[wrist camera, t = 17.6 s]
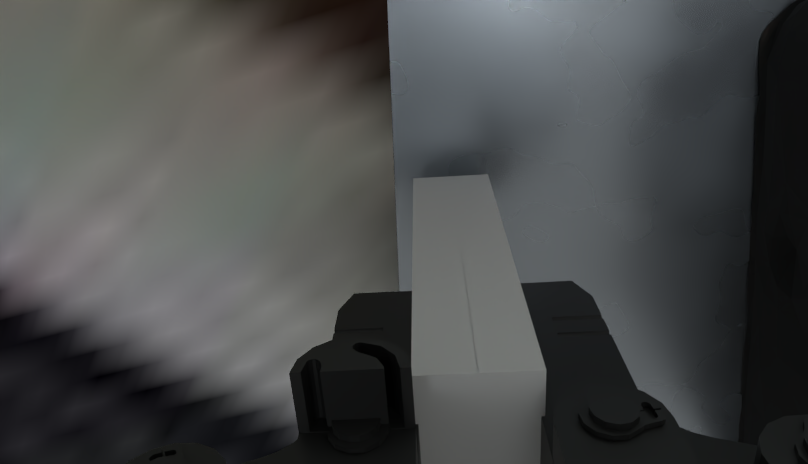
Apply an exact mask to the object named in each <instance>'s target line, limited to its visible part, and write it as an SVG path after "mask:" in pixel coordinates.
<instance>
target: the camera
mask: <svg viewBox="0 0 808 464" xmlns="http://www.w3.org/2000/svg"><path fill="white" fill-rule="evenodd" d="M759 82H760V97H759V101H758V105H757V112H756V124H755V154H754V189H753V200H752V221H751V232H750V254H749V271H748V286H747V309H748V325H747V331H746V338H745V345H744V352H743V365H742V409H741V415H740V422H739V439H738V442H741V443H747V444H753V445H758V440H759V436H760V434H761V433H762V431H763V430H764V428H765V427H766V425H767V424H768V423H770V422H772V421H774V420H777V419H779V418H781V417H784V416H792V415H806V414H808V0H796V1H795V2H793V3H792V4H790V5H789V6H788V7H787V8H786V9H785V10H784V11H783V12H782V13H781V14H780V15H779V16H777V17H776V18H775V19H774V20H773V21H772V22H771V23H770V24H769V25H768V27H767V28H766V29H765V30H764V31H763V34H762V37H761V39H760V51H759Z"/></svg>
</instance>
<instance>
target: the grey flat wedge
mask: <svg viewBox="0 0 808 464" xmlns="http://www.w3.org/2000/svg"><path fill="white" fill-rule="evenodd" d="M795 1H796V0H387V4H388V29H389V53H390V77H391V101H392V125H393V150H394V174H395V198H396V222H397V247H398V271H399V291H412V244H413V178H428V177H446V176H464V175H482V174H488V176H489V180H490V183H491V186H492V190H493V193H494V196H495V200H496V203H497V206H498V210H499V213H500V216H501V220H502V223H503V226H504V230H505V233H506V236H507V240H508V243H509V246H510V250H511V253H512V257H513V260H514V263H515V267H516V270H517V273H518V277H519V280H520V283H535V282H555V281H573V282H574V283H575V284H577V285H578V286H580V287H581V288H582V289H584V290H585V291H586V292H588V293H589V294H590V295H592V296H593V298H594V300H595V302H596V304H597V306H598V308H599V311H600V313H601V315H602V319H604V321H605V323H606V325H607V327H608V329H609V334H611V335H612V337H613V339H614V341H615V343H616V345H617V348H618V350H619V352H620V354H621V356H622V358H623V360H624V362H625V364H626V366H627V368H628V370H629V372H630V374H631V376H632V378H633V380H634V383H635V385H636V387H637V389H638V390H641V391H644V392H645V393H647V394H649V395H650V396H652V397H654V398H655V399H657V400H658V401H660V402H662V403H663V404H664V406H665V407H666V408H667V409H668V410H669V412H670V413H671V414H672V415H673V416H674V418H675V420H676V421H677V423H678V425H679V427H681V428H684V429H686V430H688V431H691V432H694V433H698V434H702V435H706V436H709V437H714V438H719V439H725V440H730V441H736V442H738V439H739V422H740V415H741V409H742V365H743V352H744V345H745V338H746V331H747V325H748V309H747V286H748V271H749V254H750V232H751V221H752V200H753V189H754V154H755V124H756V112H757V105H758V101H759V97H760V82H759V51H760V39H761V37H762V34H763V31H764V30H765V29H766V28H767V27H768V25H769V24H770V23H771V22H772V21H773V20H774V19H775V18H776V17H777V16H779V15H780V14H781V13H782V12H783V11H784V10H785V9H786V8H787V7H788V6H789V5H790V4H792V3H793V2H795Z"/></svg>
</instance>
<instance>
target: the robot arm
mask: <svg viewBox="0 0 808 464" xmlns="http://www.w3.org/2000/svg"><path fill="white" fill-rule="evenodd" d="M289 375H290V381H291V387H292V393H293V399H294V405H295V411H296V417H297V423H298V429H299V436H298V439H297V440H296V441H295V442H294V443H292V444H291V445H289V446H287V447H285V448H284V449H282V450H280V451H278V452H276V453H273V454H270V455H268V456H265V457H262V458H259V459H256V460H252V461H248V462H245V463H241V464H808V414H806V415H792V416H784V417H781V418H779V419H777V420H774V421H772V422H770V423H768V424H767V425H766V427H765V428H764V430H763V431H762V433H761V434H760V436H759V440H758V445H753V444H747V443H741V442H736V441H730V440H725V439H719V438H714V437H709V436H706V435H702V434H698V433H694V432H691V431H688V430H686V429H684V428H681V427H679V425H678V423H677V421H676V420H675V418H674V416H673V415H672V414H671V413H670V412H669V410H668V409H667V408H666V407H665V406H664V404H663V403H662V402H660V401H658V400H657V399H655V398H654V397H652V396H650V395H649V394H647V393H645V392H644V391H641V390H638V389H637V387H636V385H635V383H634V380H633V378H632V376H631V374H630V372H629V370H628V368H627V366H626V364H625V362H624V360H623V358H622V356H621V354H620V352H619V350H618V348H617V345H616V343H615V341H614V339H613V337H612V335H611V334H609V329H608V327H607V325H606V323H605V321H604V319H602V315H601V313H600V311H599V308H598V306H597V304H596V302H595V300H594V298H593V296H592V295H590V294H589V293H588V292H586V291H585V290H584V289H582V288H581V287H580V286H578V285H577V284H575V283H574V282H573V281H555V282H535V283H520V280H519V277H518V273H517V270H516V267H515V263H514V260H513V257H512V253H511V250H510V246H509V243H508V240H507V236H506V233H505V230H504V226H503V223H502V220H501V216H500V213H499V210H498V206H497V203H496V200H495V196H494V193H493V190H492V186H491V183H490V180H489V176H488V174H482V175H464V176H446V177H428V178H413V244H412V291H399V292H378V293H358V294H354V295H353V296H352V297H351V298H350V299H349V300H348V301H347V302H346V303H345V304H344V305H343V306H342V307H341V308H340V310H339V311H338V315H337V320H336V325H335V334H334V335H333V339H332V340H331V341H329V342H326V343H324V344H321V345H319V346H316V347H313V348H312V349H311V350H309V351H308V352H307V353H305V354H304V355H303V356H301V357H300V358H299V359H297V361H296V363H295V364H294V366H293V368H292V369H291V371H290V373H289ZM126 464H226V460H225V459H224V458H223V457H222V456H221V455H220V454H219V453H218V452H217V451H216V450H215V449H213V448H210V447H207V446H204V445H201V444H198V443H174V444H170V445H167V446H163V447H159V448H155V449H152V450H149V451H147V452H146V453H144V454H142V455H140V456H138V457H136V458H134V459H132V460H130V461H128V462H127V463H126Z"/></svg>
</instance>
